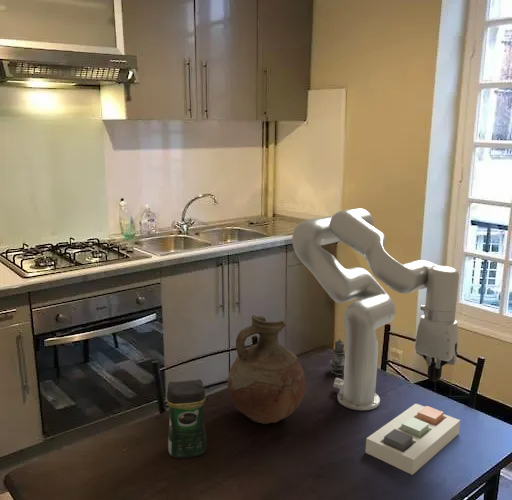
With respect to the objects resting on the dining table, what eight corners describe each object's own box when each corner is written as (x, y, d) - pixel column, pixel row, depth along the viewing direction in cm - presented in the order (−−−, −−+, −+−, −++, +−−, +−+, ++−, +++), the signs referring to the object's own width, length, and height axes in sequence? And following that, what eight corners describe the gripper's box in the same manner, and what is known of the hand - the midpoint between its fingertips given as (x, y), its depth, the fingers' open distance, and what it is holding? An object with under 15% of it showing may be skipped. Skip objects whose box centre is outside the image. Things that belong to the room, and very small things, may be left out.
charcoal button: (383, 445, 137) (384, 436, 137) (394, 437, 141) (394, 428, 140) (401, 453, 134) (402, 444, 134) (411, 445, 138) (412, 436, 137)
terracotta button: (416, 420, 149) (417, 412, 149) (425, 413, 153) (426, 405, 152) (434, 427, 146) (435, 418, 146) (442, 420, 150) (443, 412, 149)
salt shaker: (346, 376, 182) (348, 342, 179) (328, 374, 183) (330, 340, 180) (347, 369, 188) (349, 336, 185) (330, 367, 189) (331, 334, 186)
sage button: (401, 432, 143) (401, 423, 143) (410, 425, 147) (411, 416, 146) (418, 440, 140) (419, 431, 140) (428, 432, 144) (428, 423, 143)
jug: (320, 422, 154) (324, 319, 147) (258, 447, 141) (260, 337, 134) (271, 392, 170) (273, 299, 164) (212, 412, 158) (212, 313, 151)
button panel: (365, 452, 140) (366, 438, 139) (414, 416, 158) (415, 403, 157) (412, 474, 131) (413, 459, 130) (458, 433, 149) (460, 420, 148)
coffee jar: (204, 439, 144) (203, 373, 140) (208, 457, 137) (207, 388, 133) (166, 443, 142) (165, 376, 138) (168, 461, 135) (167, 391, 131)
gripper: (406, 310, 145) (401, 375, 149) (461, 324, 135) (454, 393, 139) (420, 304, 151) (415, 366, 155) (474, 317, 140) (467, 384, 144)
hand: (433, 379), depth 147 cm, fingers closed
